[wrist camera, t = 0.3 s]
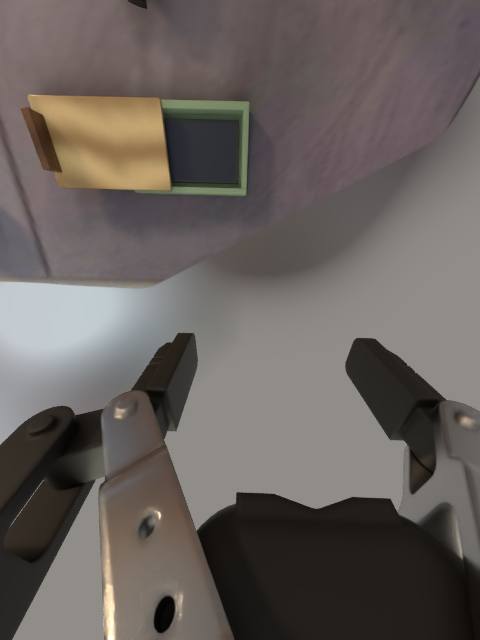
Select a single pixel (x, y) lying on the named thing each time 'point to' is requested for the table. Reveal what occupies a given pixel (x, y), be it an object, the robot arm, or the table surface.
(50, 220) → the table surface
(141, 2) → the black wing nut
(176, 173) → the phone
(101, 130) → the slide lid
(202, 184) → the sliding lid box
